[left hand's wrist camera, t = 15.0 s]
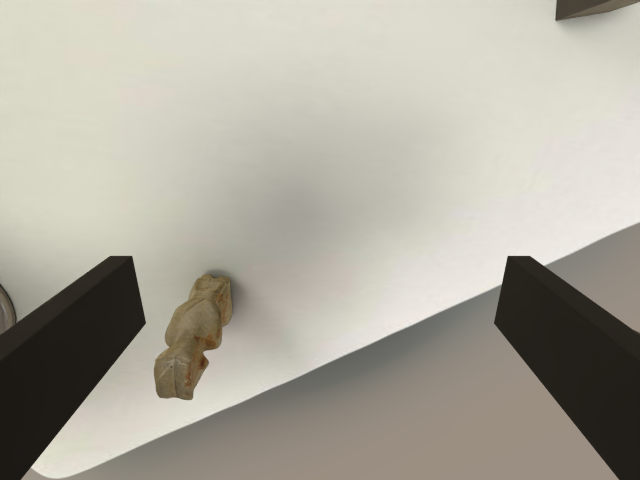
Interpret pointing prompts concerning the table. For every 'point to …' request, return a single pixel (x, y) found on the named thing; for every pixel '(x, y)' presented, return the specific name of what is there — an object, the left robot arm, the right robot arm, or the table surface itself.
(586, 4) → the bar
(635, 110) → the table surface
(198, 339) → the sculpture
